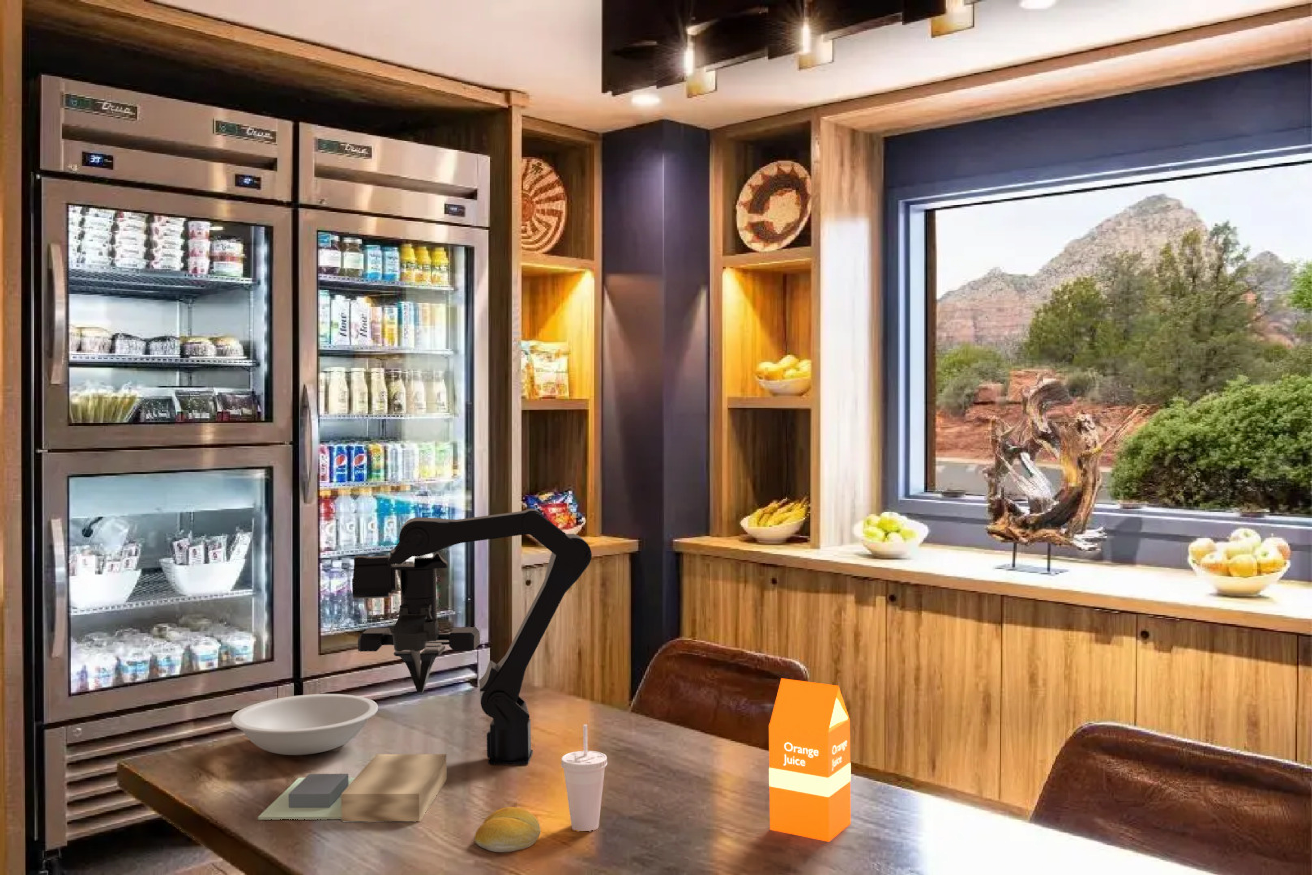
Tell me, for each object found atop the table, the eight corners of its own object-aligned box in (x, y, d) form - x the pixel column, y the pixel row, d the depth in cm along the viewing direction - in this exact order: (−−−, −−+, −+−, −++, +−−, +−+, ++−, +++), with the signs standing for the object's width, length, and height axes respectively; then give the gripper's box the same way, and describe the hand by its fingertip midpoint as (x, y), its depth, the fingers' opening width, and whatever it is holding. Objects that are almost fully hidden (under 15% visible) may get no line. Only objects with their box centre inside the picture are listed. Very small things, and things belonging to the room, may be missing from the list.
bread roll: (468, 853, 150) (467, 823, 150) (489, 828, 159) (489, 799, 159) (529, 856, 148) (528, 826, 148) (547, 831, 157) (547, 802, 157)
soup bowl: (356, 771, 183) (355, 730, 183) (207, 772, 184) (206, 731, 184) (394, 729, 207) (393, 693, 207) (262, 730, 208) (261, 693, 208)
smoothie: (615, 821, 160) (613, 721, 160) (598, 837, 154) (596, 734, 153) (573, 816, 162) (571, 718, 162) (554, 832, 156) (552, 730, 156)
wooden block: (446, 779, 179) (446, 754, 179) (419, 821, 161) (418, 793, 161) (376, 779, 179) (376, 754, 179) (341, 821, 161) (341, 793, 161)
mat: (374, 779, 179) (374, 777, 179) (341, 819, 162) (341, 816, 162) (298, 779, 179) (298, 777, 179) (258, 819, 162) (258, 816, 162)
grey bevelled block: (309, 773, 175) (309, 786, 175) (288, 793, 166) (288, 807, 166) (348, 773, 175) (348, 786, 175) (329, 793, 166) (329, 807, 166)
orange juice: (829, 842, 151) (827, 692, 151) (768, 829, 156) (767, 684, 155) (851, 823, 158) (850, 679, 157) (793, 811, 163) (792, 672, 162)
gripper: (346, 605, 177) (348, 705, 178) (466, 604, 177) (468, 704, 177) (366, 593, 188) (368, 687, 189) (479, 592, 188) (481, 687, 188)
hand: (420, 692), depth 185 cm, fingers closed
